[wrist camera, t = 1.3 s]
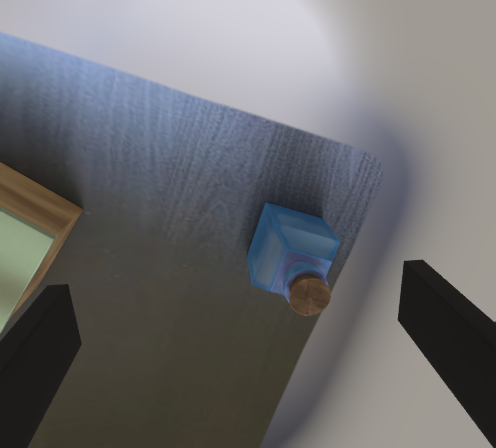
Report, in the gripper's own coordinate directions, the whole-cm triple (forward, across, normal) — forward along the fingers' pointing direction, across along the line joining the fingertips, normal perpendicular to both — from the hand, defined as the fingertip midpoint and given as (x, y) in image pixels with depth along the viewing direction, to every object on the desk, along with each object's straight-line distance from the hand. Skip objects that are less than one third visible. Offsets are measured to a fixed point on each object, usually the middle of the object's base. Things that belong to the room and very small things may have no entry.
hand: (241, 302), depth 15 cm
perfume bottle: (+24, +5, -7) cm, 26 cm away
